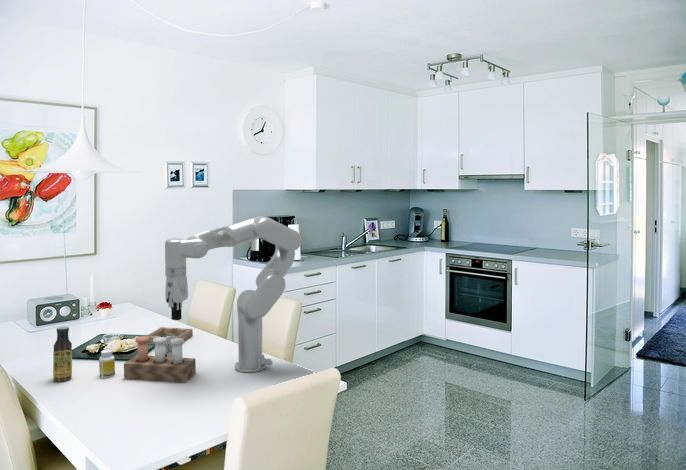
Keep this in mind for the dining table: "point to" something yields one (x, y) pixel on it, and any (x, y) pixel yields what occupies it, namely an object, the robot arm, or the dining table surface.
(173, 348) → the grey plug
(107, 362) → the supplement bottle
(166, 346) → the electrical switch
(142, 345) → the terracotta plug
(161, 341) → the grey plug
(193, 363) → the block
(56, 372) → the sauce bottle
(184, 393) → the dining table surface
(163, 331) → the square wooden frame
